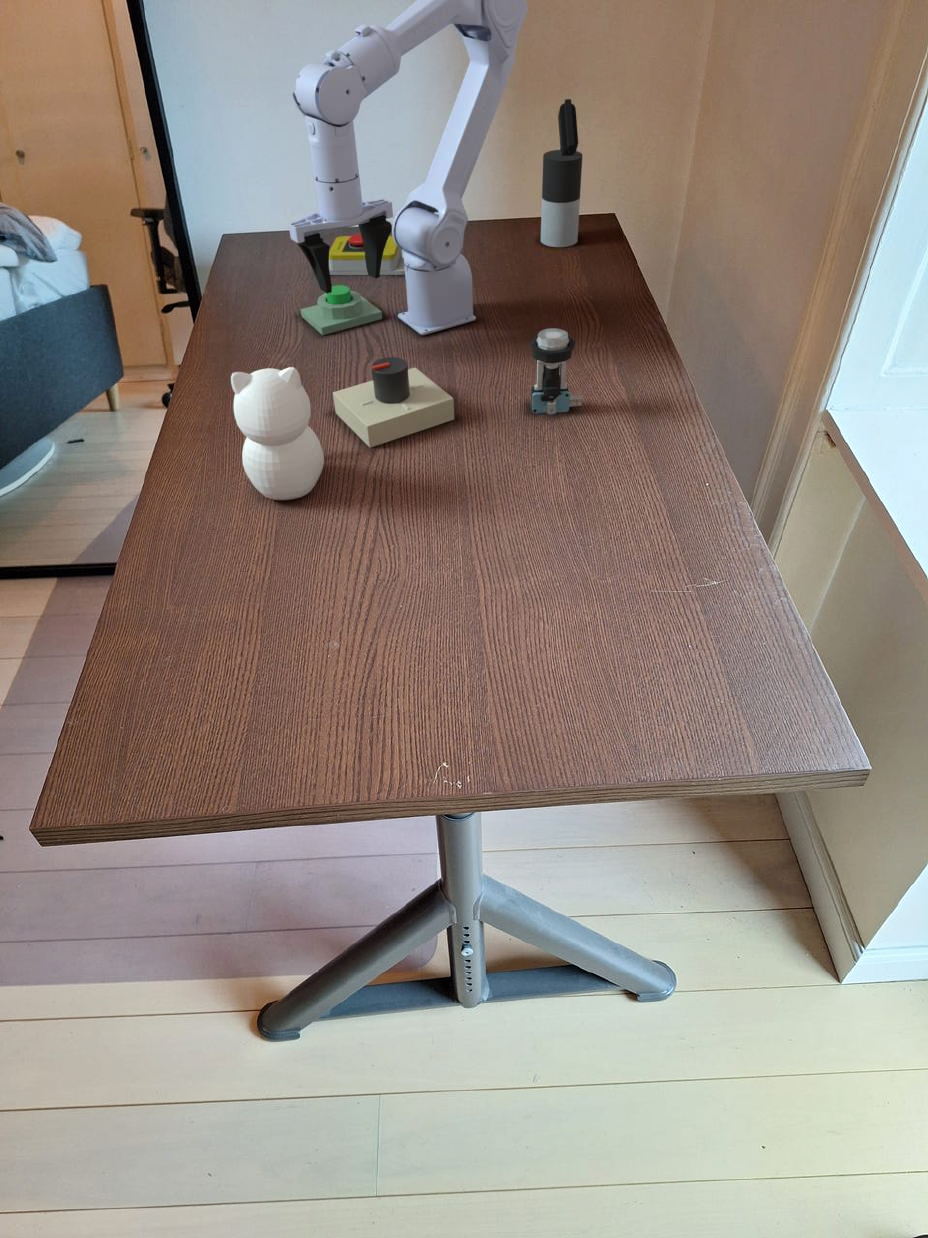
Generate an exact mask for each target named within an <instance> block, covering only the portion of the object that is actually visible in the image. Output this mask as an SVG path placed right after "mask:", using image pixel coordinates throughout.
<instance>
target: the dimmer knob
mask: <svg viewBox="0 0 928 1238" xmlns="http://www.w3.org/2000/svg"><path fill="white" fill-rule="evenodd" d="M408 369H409V366H408V363H407V360H405V359H403V358H402V357H401V358H400V357H395V356H387V357H382V358H379V359H377V360H375V361H373V363H372V364H371V374H372V380H373V384H374V392H375V398H376V399H377V400H378V401H380V402H383V403H398V402H402V401H404V400H406V399H407V398H408V397H409V395H410V389H409V377H408Z"/></svg>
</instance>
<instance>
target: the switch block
mask: <svg viewBox="0 0 928 1238" xmlns="http://www.w3.org/2000/svg"><path fill="white" fill-rule="evenodd" d="M350 293H351V301H350V302H349V303H345V304H337V305H334V304H329V303H328V301H327V294H326V293H325V292H324V293H323V294H322V295H319V296H318V298H317V302H316V303H317V304H315V305H312V306H308V307H304V308H300V315H301V318H302V319H304V320H305V321H306V322H307V323H308V324H309V325H310V326H311V327H312V328H314V329H315V330H316V331H317V332H318V333H319V334H321V336H325V335H329V334H333V333H336V332H337V333H338V332H340V331H344V330H347V329H350V328H354V327H359V326H362V325H366V324H370V323H373V322H376V321H380V320H382V319H383V312H382V310H381V309H379V308H378V307H377V306H375V305H374V304H372V303H371V302H370V301H369V300H367V299H366V298H365V297H364V296H362V295H361V294H360V293H358V292H357V291H353V290H350Z"/></svg>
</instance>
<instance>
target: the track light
mask: <svg viewBox="0 0 928 1238" xmlns="http://www.w3.org/2000/svg"><path fill="white" fill-rule="evenodd" d="M557 121H558V122H557V123H558V134H559V135H558V136H559V147H560V148H559V149H554V150H548V151H546V152H544V153H543V155H542V179H541V180H542V181H541V182H542V183H541V216H540V217H541V219H540V220H541V221H540V242H541V244H542V245H545V246H547V247H550V248H551V247H553V248H565V247H566V248H567V247H571V246H574V245H576V244H577V243H578V241H579V239H578V237H579V222H580V220H579V219H580V205H581V204H580V203H581V188H582V169H583V152H581V151H579V150H577V149H578V147H579V133H578V119H577V109H576V106H575V104H574V103H572V99H571V98H566V99H564V102H563V103H562V104H561V105H560V106H559V110H558V114H557Z"/></svg>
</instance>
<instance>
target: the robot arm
mask: <svg viewBox="0 0 928 1238" xmlns="http://www.w3.org/2000/svg"><path fill="white" fill-rule="evenodd" d="M528 11H529V6H528V2H527V0H416V1H414V3H412V4H411V5H410V6H409V7H407V9H405V10H404V11H403V12H402V13H401V14H400V15H398V16H397V17H396V18H395V19H394V20H393V21H392V22H390V23H389V24H388V25H386V27H382V26H380V25H378V24H375V23H374V24H370V25H368V24H360V25H359V26H357V27H356V28H355V29H354V33H355V36H354V37H352V38H351V39H350V40H349V41H347V42H346V43H345V44H343V45H342V46H340V47H339V48H338V49H337V50H334V49H330V50H329V51H327V52H326V53H325V59H324V60H323V63H321V62H311V63H308V64H306V65H305V66H304V67H303V68H302V69H301V70H300V72H299V73H298V76H297V78H296V81H295V87H294V91H293V92H292V93H291V97H292V99H293V102H294V104H295V107H296V108H297V110H298V111H299V112H300V113H301V114H302V116H303V118H304V122H305V123H304V124H305V128H306V132H307V139H308V146H309V152H310V159H311V166H312V167H311V168H312V174H313V179H314V186H315V193H316V195H315V196H316V200H317V201H316V202H317V209H318V211H316V212H315V213H313V214H310V215H308V216H306V217H304V218H302V219H299V220H297V221H295V222H294V221H293V222H291V223H288V230H289V236H290V240H291V241H293V242H295V243H296V245H297V246H298V247H299V248H300V251H302V253H303V254H304V256H305V258H306V259H307V261H308V263H309V265H310V267H311V269H312V271H313V273H314V275H315V278H316V280H317V283H318V286H319V289H320V290H321V291H322V292H324V294H325V293H331V292H332V277H331V275H330V271H329V251H330V249H331V245H329V244H328V243H326V242H325V241H324V238H323V237H321V236H323V235H326V234H331V233H334V232H337V231H341V230H345V229H349V228H352V227H355V226H358V229H359V232H360V234H361V236H362V240H363V245H364V251H365V260H366V268H367V272H368V275H367V276H370V277H372V278H374V279H375V280H376V279H379V278H380V276H381V275H380V268H381V262H382V256H383V252H384V248H385V245H386V242H387V240H388V237H389V236H393V240H394V242H395V244H396V245H397V246H398V247H399V248H400V249H402V258H404V266H405V275H404V276H405V290H406V302H407V311H404V312H400V313H398V314H397V318H398V319H399V320H401V321H402V322H403V323H404V324H406V325H407V326H409V327H410V328H411V329H413V331H416V332H417V334H419V335H420V336H426V335H429V334H434V333H436V332H440V331H444V330H446V329H450V328H453V327H457V326H460V325H464V324H467V323H470V322H474V321H476V319H477V317H476V315H474V296H473V295H474V293H473V273H472V270H471V269H472V268H471V265H470V264H469V261H468V259H467V258H466V257H465V256H464V255H463V254H462V250H463V248H464V238H465V237H464V236H465V230H466V226H467V224H468V221H469V217H468V213H467V212H466V209H465V206H464V204H463V200H462V199H463V197H464V194H465V192H466V189H467V186H468V184H469V181H470V178H471V176H472V174H473V172H474V169H475V166H476V164H477V161H478V158H479V156H480V153H481V150H482V148H483V146H484V143H485V140H486V138H487V135H488V133H489V131H490V127H491V125H492V122H493V120H494V117H495V115H496V112H497V110H498V107H499V105H500V103H501V101H502V97H503V94H504V92H505V90H506V87H507V85H508V81H509V79H510V76H511V74H512V72H513V69H514V66H515V61H516V54H517V45H518V38H519V34H520V33H521V32H520V31H521V29H522V27H523V25H524V22H525V19H526V16H527V14H528ZM449 25H452V26H453V28H454V29H455V31H456V33H457V35H458V37H459V38H460V40H461V42H462V43H463V45H464V47H465V49H466V52H467V55H468V58H469V59H468V60H469V64H468V67H467V69H466V72H465V75H464V77H463V80H462V82H461V85H460V88H459V91H458V93H457V96H456V99H455V101H454V104H453V106H452V109H451V112H450V115H449V118H448V120H447V122H446V125H445V128H444V131H443V133H442V136H441V139H440V141H439V144H438V147H437V149H436V152H435V155H434V157H433V160H432V163H431V165H430V168H429V170H428V174H427V176H426V179H425V181H424V182H423V183H422V184H420V185H419V186H417V187H416V188H414V189H412V191H410V192H409V194H408V196H407V199H406V201H405V203H404V205H403V206H402V207H401V208H400V209H399V210H398V211H397V212H396V214H395V216H394V210H393V202H392V201H391V200H388V199H386V198H381V199H376V200H370V201H363V195H362V187H361V180H360V171H359V162H358V153H357V143H356V134H355V126H354V125H355V123H354V120H355V118H357V115H358V113H359V111H360V108H361V104H362V102H363V100H365V99H366V98H367V97H368V96H370V95H371V94H372V93H374V92H375V91H377V90H378V89H379V88H380V87H381V86H382V85H384V84H385V83H387V82H388V81H389V80H390V79H392V78H393V77H395V76H396V75H397V74H398V73H399V71H400V68H401V62H402V57H403V56H404V55H405V54H407V53H409V52H410V51H412V50H413V49H415V48H416V47H418V46H419V45H421V44H422V43H424V42H425V41H427V40H428V39H430V38H431V37H433V36H434V35H436V34H437V33H439V32H440V31H442V30H443V29H444V28H447V27H448V26H449ZM436 213H438V214H436ZM392 218H393V221H392V222H390V221H389V220H388V219H392Z"/></svg>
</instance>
